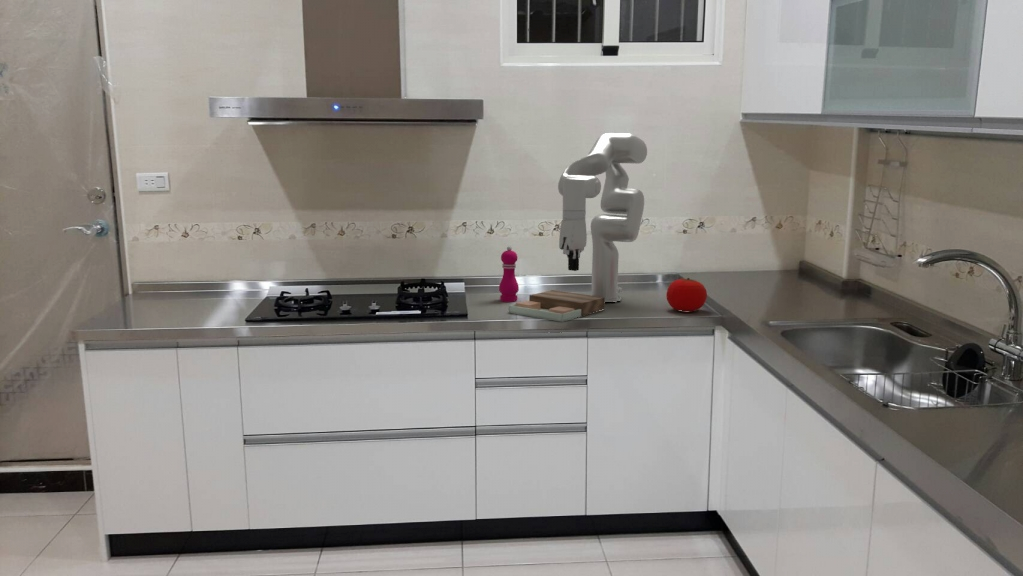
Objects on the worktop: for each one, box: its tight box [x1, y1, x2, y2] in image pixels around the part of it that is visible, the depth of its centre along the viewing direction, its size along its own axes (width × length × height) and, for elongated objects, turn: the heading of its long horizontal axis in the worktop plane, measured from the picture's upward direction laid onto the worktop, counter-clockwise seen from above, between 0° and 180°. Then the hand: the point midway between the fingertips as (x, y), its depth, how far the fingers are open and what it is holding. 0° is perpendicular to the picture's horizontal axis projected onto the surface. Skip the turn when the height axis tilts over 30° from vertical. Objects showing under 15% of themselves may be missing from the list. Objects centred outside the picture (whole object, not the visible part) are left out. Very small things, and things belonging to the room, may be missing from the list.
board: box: [528, 289, 605, 317], centre depth 278 cm, size 14×22×4 cm, turn 52°
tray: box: [508, 303, 582, 323], centre depth 268 cm, size 11×22×2 cm, turn 52°
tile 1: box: [515, 300, 541, 310], centre depth 272 cm, size 6×6×2 cm
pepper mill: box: [498, 245, 520, 303], centre depth 291 cm, size 7×7×20 cm
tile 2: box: [549, 306, 574, 314], centre depth 263 cm, size 6×6×2 cm
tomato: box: [665, 277, 708, 312], centre depth 276 cm, size 13×14×12 cm
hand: (573, 270), depth 266 cm, fingers closed
